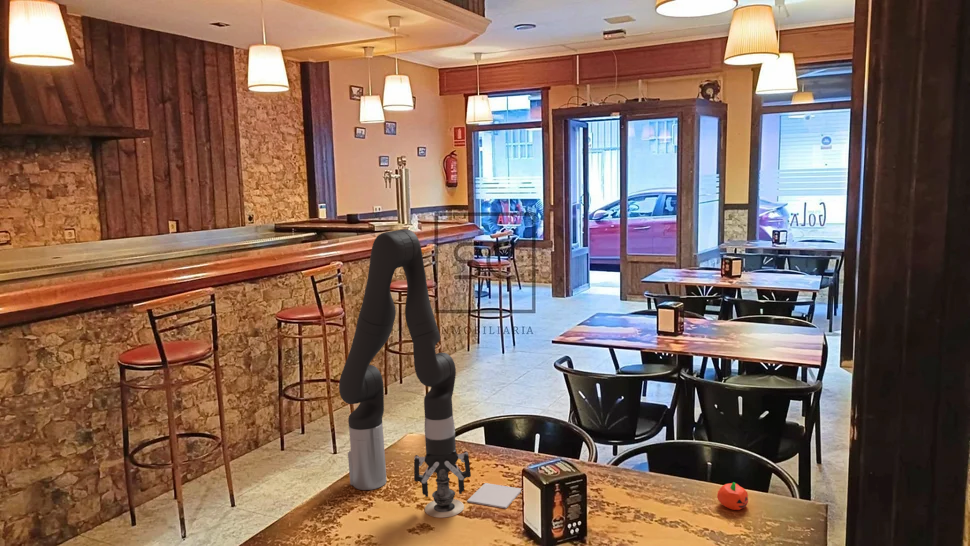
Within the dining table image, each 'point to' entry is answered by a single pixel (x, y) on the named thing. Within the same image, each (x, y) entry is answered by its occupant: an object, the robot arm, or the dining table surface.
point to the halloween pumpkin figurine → (733, 496)
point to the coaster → (432, 512)
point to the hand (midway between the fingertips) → (443, 494)
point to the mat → (495, 495)
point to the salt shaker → (443, 493)
